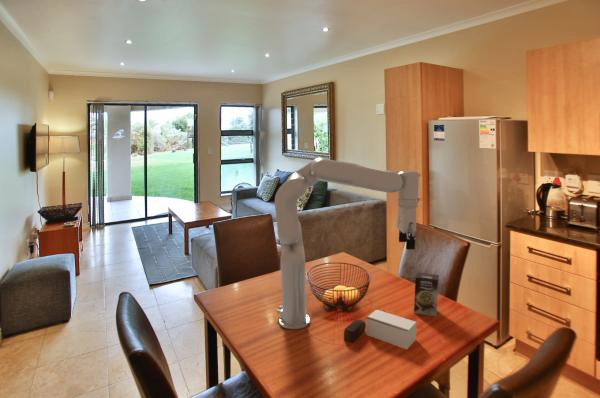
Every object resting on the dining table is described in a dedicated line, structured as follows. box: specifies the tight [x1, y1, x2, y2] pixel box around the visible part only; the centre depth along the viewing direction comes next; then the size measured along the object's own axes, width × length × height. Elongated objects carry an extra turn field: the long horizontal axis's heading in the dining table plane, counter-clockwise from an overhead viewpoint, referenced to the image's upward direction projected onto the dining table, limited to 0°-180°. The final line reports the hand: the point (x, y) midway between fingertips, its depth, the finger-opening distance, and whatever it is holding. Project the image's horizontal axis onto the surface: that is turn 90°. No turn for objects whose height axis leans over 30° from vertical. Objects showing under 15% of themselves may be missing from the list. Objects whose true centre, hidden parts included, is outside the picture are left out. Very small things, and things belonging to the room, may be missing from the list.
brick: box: [343, 318, 366, 344], centre depth 136 cm, size 11×4×5 cm, turn 144°
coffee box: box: [413, 272, 439, 317], centre depth 152 cm, size 9×6×16 cm
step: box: [365, 309, 417, 350], centre depth 134 cm, size 16×8×7 cm, turn 51°
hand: (406, 245), depth 143 cm, fingers open, 9 cm apart
